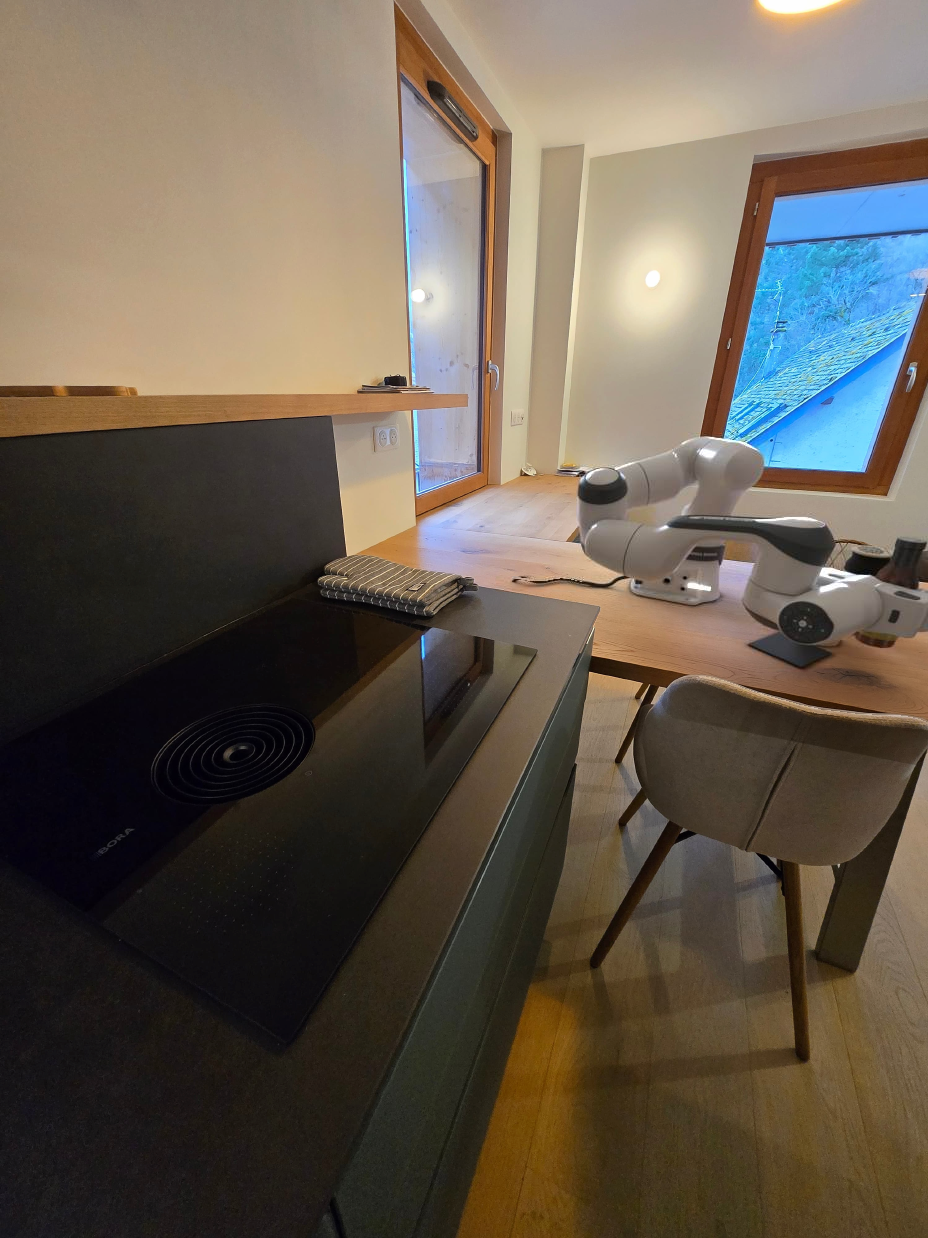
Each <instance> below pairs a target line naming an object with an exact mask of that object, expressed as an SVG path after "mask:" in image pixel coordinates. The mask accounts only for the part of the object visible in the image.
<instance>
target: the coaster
mask: <svg viewBox="0 0 928 1238" xmlns="http://www.w3.org/2000/svg"><path fill="white" fill-rule="evenodd" d="M747 646H748V647H751V648H752V649H755V650H757V651H760V652H761V653H764V654H767V655H769V656H771V657H774V658H775V659H778V660H781V661H783V662H785V663H787V664H790V665H792V666H794V667H797V668H798V669H803V668H806V667H807V666H810V665H811V664H812V665H813V664H814V663H816V662H818V661H820V660H823V659H825V658H827V657H829V656H832V655H833V652H831V651H829V650H826V649H824V648H821V647H819V646H817V645H803V644H799V643H796V642H794V641H792V640H790V639H788V638H787V637H786V636H784V635H783V633H782V632H781V631H778V632H775V633H773V634H770V635H768V636H765V637H763V638H759V639H757V640H755V641H753V642H749V643H748V645H747Z"/></svg>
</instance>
